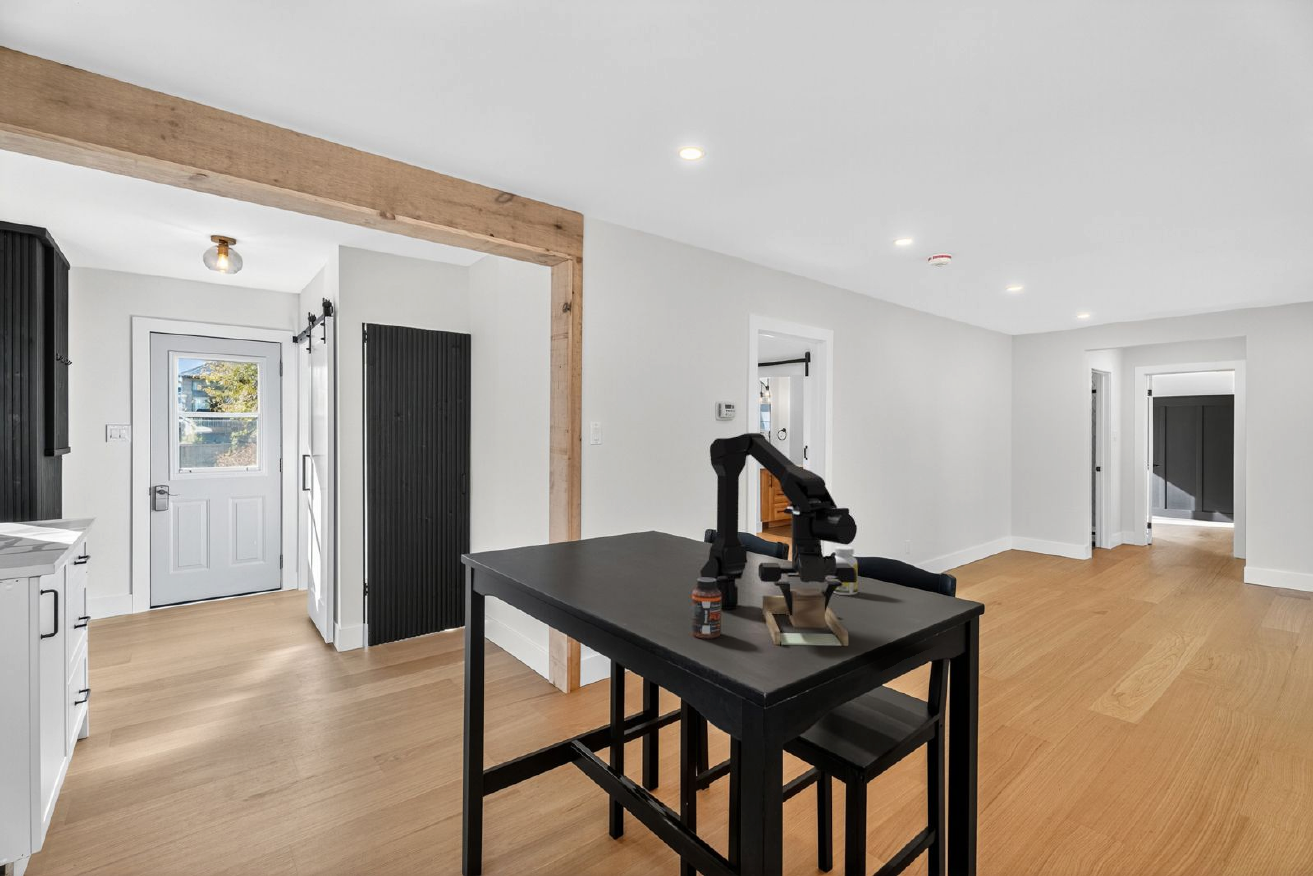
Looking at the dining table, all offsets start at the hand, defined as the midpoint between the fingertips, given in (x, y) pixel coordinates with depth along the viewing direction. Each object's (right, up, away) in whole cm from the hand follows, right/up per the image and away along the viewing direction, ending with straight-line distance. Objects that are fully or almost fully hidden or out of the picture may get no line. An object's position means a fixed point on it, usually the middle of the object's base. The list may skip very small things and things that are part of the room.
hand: (806, 615), depth 125 cm
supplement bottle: (-20, -4, +1) cm, 21 cm away
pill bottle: (+18, -4, +34) cm, 39 cm away
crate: (0, -2, 0) cm, 2 cm away
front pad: (0, -4, -3) cm, 5 cm away
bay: (0, -4, +5) cm, 6 cm away
